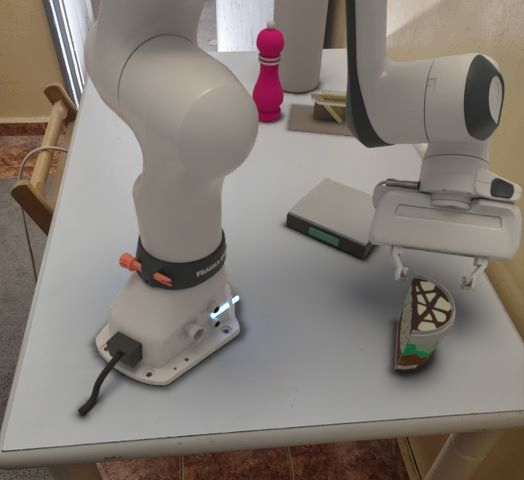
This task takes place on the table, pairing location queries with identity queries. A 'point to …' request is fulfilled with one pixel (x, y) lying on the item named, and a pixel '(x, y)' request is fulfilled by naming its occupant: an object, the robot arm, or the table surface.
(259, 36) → the pepper mill
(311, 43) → the cylinder vase
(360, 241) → the kitchen scale
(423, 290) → the food container
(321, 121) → the platform
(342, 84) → the table surface
